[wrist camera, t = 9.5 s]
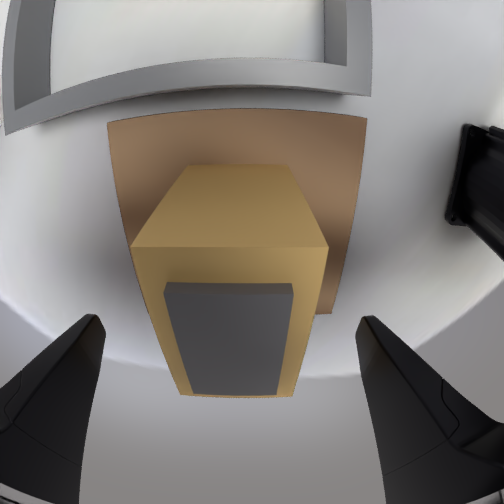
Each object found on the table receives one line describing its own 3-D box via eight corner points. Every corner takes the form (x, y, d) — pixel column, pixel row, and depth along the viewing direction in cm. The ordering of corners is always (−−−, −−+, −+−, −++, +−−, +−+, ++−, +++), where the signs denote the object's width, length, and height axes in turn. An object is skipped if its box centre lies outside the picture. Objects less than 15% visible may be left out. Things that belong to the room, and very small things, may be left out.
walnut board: (329, 307, 17) (331, 313, 17) (150, 307, 17) (148, 313, 17) (362, 117, 11) (367, 118, 10) (112, 121, 11) (106, 122, 10)
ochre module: (278, 286, 16) (293, 404, 9) (199, 286, 15) (178, 403, 9) (287, 165, 12) (333, 257, 6) (187, 165, 12) (124, 256, 5)
